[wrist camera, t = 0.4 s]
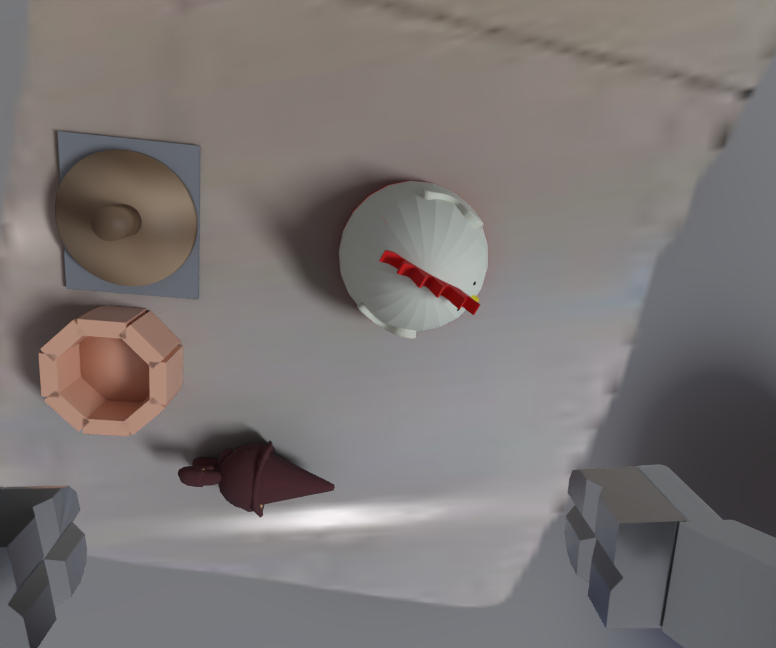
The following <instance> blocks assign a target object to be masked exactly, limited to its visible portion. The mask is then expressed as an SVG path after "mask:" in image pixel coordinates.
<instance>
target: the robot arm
mask: <svg viewBox="0 0 776 648" xmlns="http://www.w3.org/2000/svg"><path fill="white" fill-rule="evenodd" d="M568 494H569V495H570V497H571V499H572V500H573V502H574V503H575V506H574V507H573V508H572V509H571V510H570V512H569V513H568V514H567V515H566V518H565V541H566V549H567V553H568V556H569V559H570V563H571V565H572V567H573V568H574V570H575V573H576V575H578V576H579V577H581V578H582V579H584V580H585V581H587V582H588V583H589V589H588V597H589V599H590V600H591V602H592V604H593V606H594V608H595V610H596V612H597V613H598V615H599V617H600V619H601V620H602V622H603V624H604V626H605V628H606V629H623V628H624V629H626V628H627V629H628V628H662V631H663V632H665V633H666V634H667V635H668V636H670V637H671V638H672V639H674V640H675V641H676V642H677V643H679V644H680V645H681V646H683V647H684V648H776V538H774V537H772V536H770V535H767V534H765V533H763V532H760V531H758V530H755V529H753V528H751V527H748V526H746V525H744V524H741V523H739V522H737V521H734V520H722V519H721V518H720V517H719V516H718V515H717V514H716V513H715V512H714V511H713V510H712V509H710V507H709V506H708V505H707V504H706V503H704V501H703V500H701V499H700V498H699V497H698V496H697V495H696V494H695V493H694V492H693V491H692V490H691V489H690V488H689V487H688V486H687V485H686V484H685V483H684V482H683V481H682V480H681V479H680V478H679V477H678V476H677V475H676V474H674V473H673V472H672V471H671V470H670V469H669V468H668V467H666V466H663V465H646V466H632V467H615V468H598V469H581V470H573V471H572V473H571V476H570V479H569V487H568ZM79 511H80V506H79V502H78V498H77V493H76V491H75V490H73V489H72V488H71V487H70V486H33V487H0V648H38V647H39V645H40V644H41V642H42V640H43V639H44V638H45V636H46V635H47V633H48V632H49V630H50V629H51V627H52V625H53V624H54V623H55V621H56V614H55V609H54V608H55V607H56V606H58V605H59V604H61V603H63V602H64V601H65V600H67V599H69V598H70V597H72V595H73V593H74V592H75V590H76V589H77V587H78V586H79V584H80V582H81V579H82V576H83V573H84V569H85V566H86V558H87V546H86V539H85V534H84V533H83V532H82V531H81V530H80V529H79V528H78V527H77V526H76V525H75V524H74V523H73V521H74V519H75V518H76V516H77V515H78V513H79Z"/></svg>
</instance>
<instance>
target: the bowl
mask: <svg viewBox="0 0 776 648" xmlns="http://www.w3.org/2000/svg"><path fill="white" fill-rule="evenodd" d="M180 342H181V341H180V340H179V339H178V338H177V337H176V336H175V335H174V334H173V333H172V332H171V331H170V330H169V329H168V328H167V327H166V326H165V325H164V324H163V323H162V322H161V321H160V320H159V319H158V318H157V317H156V316H155V315H154V314H153V313H152V312H151V311H149V312H148V313H146V309H144V308H132V307H119V306H107V305H102V306H100V307H96V308H94V309H92V310H91V311H89V312H87V313H85V314H83V315H81V316H80V317H78V318H76V319H74V320H72V321H71V322H70V323H69V324H68V325H67V326H66V327H65V328H63V329H62V330H61V331H60V332H59V333H58V334H57V335H56V336H54V337H53V338H52V339H51V340H50V341H49V342H48V343H47V344H45V345H44V346H43V347H42V348H41V349H40V350H41V351H42V352H40V353H38V354H39V368H40V382H41V396H45V397H47V398H46V399H45V400H44V401H45V402H46V403H47V404H48V405H49V406H50V407H52V408H53V409H54V410H55V411H56V412H57V413H58V414H59V415H61V416H62V417H63V418H64V419H65V420H66V421H67V422H68V423H69V424H71V425H72V426H73V427H74V428H75V429H76V430H77V431H78V432H79V431H80V430H81V429H82V428H83V434H99V435H115V436H129V435H130V434H132V435H134V434H135V433H136V432H137V431H139V430H140V429H141V428H142V427H143V426H145V425H146V424H147V423H148V422H149V421H151V420H152V419H153V418H154V417H155V416H157V415H158V414H159V413H160V412H161V411H163V410H164V409H165V408H166V406H167V405H168V404H169V403H170V401H171V400H172V399H173V398H174V396H175V395H176V394H177V392H178V391H179V390H180V389H181V386H182V385H183V345H178V344H179V343H180Z"/></svg>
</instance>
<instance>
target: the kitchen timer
mask: <svg viewBox="0 0 776 648" xmlns="http://www.w3.org/2000/svg"><path fill="white" fill-rule="evenodd" d="M482 226H483V222H482V221H481V219H480V218H479V216H478V215H477V214H476V212H475V211H474V210H473V209H472V208H471V207H470V206H469V205H468V204H467V203H466V202H465V201H464V200H463V199H461V198H460V197H459V196H457V195H456V194H455V193H454V192H452V191H451V190H448V189H446V188H443V187H441V186H438V185H436V184H434V183H431V182H421V181H410V180H408V181H403V182H398V183H393V184H389V185H386V186H384V187H382V188H381V189H379V190H377V191H375V192H373V193H371V194H370V195H368V196H367V197H366V198H365V199H364V200H363V201H362V202H361V203H360V204H359V205H358V206H357V207H356V208H355V209H354V210H353V212H352V214H351V216H350V218H349V220H348V222H347V223H346V225H345V227H344V229H343V234H342V239H341V243H340V248H339V260H340V273H341V275H342V278H343V280H344V283H345V286H346V288H347V291H348V293H349V295H350V296H351V297H352V299H353V300H354V301H355V302H356V304H357V305H358V306H357V308H358V309H359V310H360V311H361V312H362V313H363V314H364V315H365V316H366V317H367V318H368V319H370V320H371V321H372V322H374V323H375V324H377V325H378V326H380V327H382V328H384V329H385V330H387V331H389V332H391V333H393V334H396V335H398V336H401V337H404V338H410V339H415V338H416V331H424V330H429V329H434V328H438V327H441V326H443V325H445V324H447V323H449V322H451V321H453V320H455V319H457V318H458V317H459V316H460V315H461V314H462V313H463V312H464V311H465V310H467V311H469V312H470V313H471V314H473V315H474V314H475V313H476V311H477V309H478V308H479V306H480V304H479V303H478V302H479V299H478V297H477V294H478V293H479V291H480V289H481V288H482V285H483V281H484V278H485V274H486V271H487V267H488V245H487V241H486V238H485V235H484V231H483V228H482ZM476 301H478V302H476Z"/></svg>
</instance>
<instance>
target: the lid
mask: <svg viewBox="0 0 776 648" xmlns="http://www.w3.org/2000/svg"><path fill="white" fill-rule="evenodd" d="M55 216H56V224H57V227H58V231H59V234H60V236H61V239H62V241H63V243H64V245H65V247H66V249H67V250H68V251H69V253H70V254H71V256H72V257H73V258H74V259H75V260H76V261H77V262H78V263H79V264H80V265H81V266H82V267H83V268H84V269H85V270H87V271H88V272H90V273H91V274H93V275H94V276H96V277H98V278H100V279H102V280H104V281H107V282H109V283H113V284H117V285H122V286H144V285H149V284H153V283H155V282H158V281H160V280H162V279H164V278H166V277H168V276H169V275H171V274H173V273H174V272H175V271H177V270H178V269H179V268H180V267H181V266H182V265H183V264H184V263H185V261H186V260H187V259H188V257H189V256H190V254H191V252H192V250H193V247H194V245H195V242H196V237H197V230H198V219H197V212H196V207H195V204H194V201H193V198H192V196H191V194H190V192H189V190H188V189H187V187H186V185H185V184H184V182H183V181H182V180H181V179H180V177H179V176H178V175H177V174H176V173H175V172H174V171H173V170H172V169H171V168H169V167H168V166H167V165H165V164H164V163H162V162H161V161H159V160H157V159H156V158H154V157H151V156H149V155H147V154H143V153H140V152H136V151H130V150H106V151H101V152H97V153H94V154H92V155H89V156H87V157H85V158H84V159H82V160H80V161H79V162H78V163H77V164H75V165H74V166H73V167H72V168H71V169H70V170H69V171H68V173H67V174H66V176H65V177H64V179H63V180H62V182H61V185H60V187H59V190H58V193H57V196H56V203H55Z"/></svg>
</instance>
